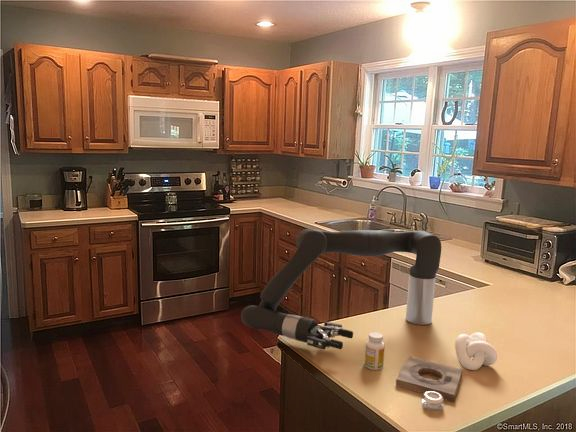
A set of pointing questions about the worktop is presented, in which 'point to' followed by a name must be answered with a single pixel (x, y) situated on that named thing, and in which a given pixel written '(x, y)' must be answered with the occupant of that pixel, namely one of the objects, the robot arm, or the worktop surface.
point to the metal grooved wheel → (432, 401)
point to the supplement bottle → (374, 351)
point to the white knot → (474, 351)
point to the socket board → (415, 382)
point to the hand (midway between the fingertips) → (347, 340)
